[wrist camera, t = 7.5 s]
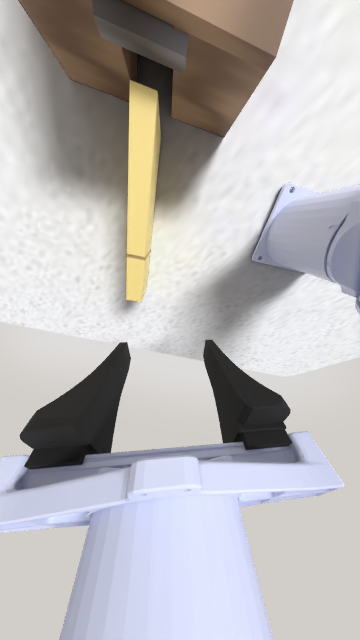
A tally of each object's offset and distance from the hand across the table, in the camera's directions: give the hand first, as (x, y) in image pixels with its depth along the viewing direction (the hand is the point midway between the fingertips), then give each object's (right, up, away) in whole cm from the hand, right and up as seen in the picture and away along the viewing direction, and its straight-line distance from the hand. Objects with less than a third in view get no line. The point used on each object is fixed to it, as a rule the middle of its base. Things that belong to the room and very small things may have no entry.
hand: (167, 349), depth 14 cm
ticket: (-3, +14, +3) cm, 14 cm away
